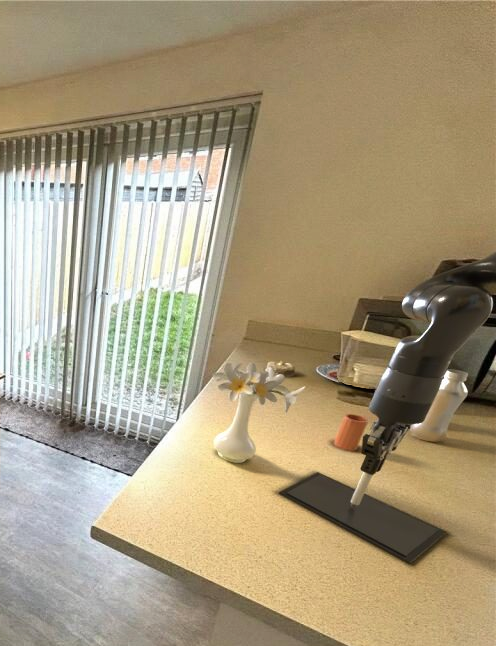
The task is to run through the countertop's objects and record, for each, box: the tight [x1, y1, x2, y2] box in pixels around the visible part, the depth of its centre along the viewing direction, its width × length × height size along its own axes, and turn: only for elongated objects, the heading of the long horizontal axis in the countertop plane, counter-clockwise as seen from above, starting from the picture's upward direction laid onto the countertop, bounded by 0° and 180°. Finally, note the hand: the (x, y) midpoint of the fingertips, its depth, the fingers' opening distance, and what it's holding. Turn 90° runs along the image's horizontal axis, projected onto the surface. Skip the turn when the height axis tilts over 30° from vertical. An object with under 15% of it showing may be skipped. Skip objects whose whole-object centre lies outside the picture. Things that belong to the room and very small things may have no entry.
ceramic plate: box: [316, 363, 340, 383], centre depth 144 cm, size 26×26×3 cm
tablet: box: [278, 471, 448, 565], centre depth 82 cm, size 22×16×1 cm
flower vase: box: [211, 362, 307, 464], centre depth 97 cm, size 13×18×25 cm
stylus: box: [351, 471, 374, 507], centre depth 80 cm, size 1×1×14 cm
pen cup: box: [333, 413, 369, 452], centre depth 103 cm, size 5×5×9 cm
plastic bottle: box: [409, 368, 469, 443], centre depth 104 cm, size 6×7×20 cm
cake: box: [264, 360, 296, 378], centre depth 153 cm, size 10×10×5 cm
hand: (369, 470), depth 79 cm, fingers closed on stylus, 1 cm apart
